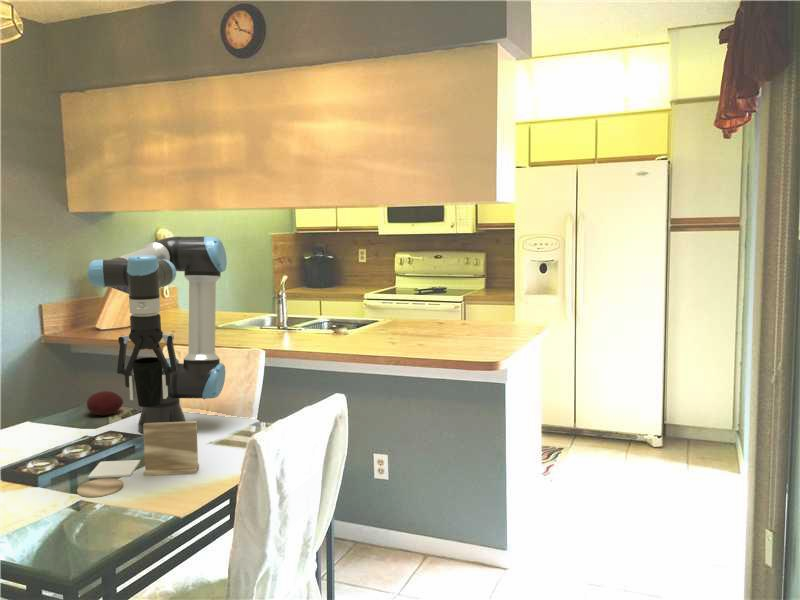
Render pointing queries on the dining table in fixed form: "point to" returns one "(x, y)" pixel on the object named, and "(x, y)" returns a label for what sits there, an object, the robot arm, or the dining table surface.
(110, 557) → the dining table surface
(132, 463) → the stone coaster
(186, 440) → the screen
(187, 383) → the robot arm
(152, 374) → the cup
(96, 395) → the potato
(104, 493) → the cork coaster
